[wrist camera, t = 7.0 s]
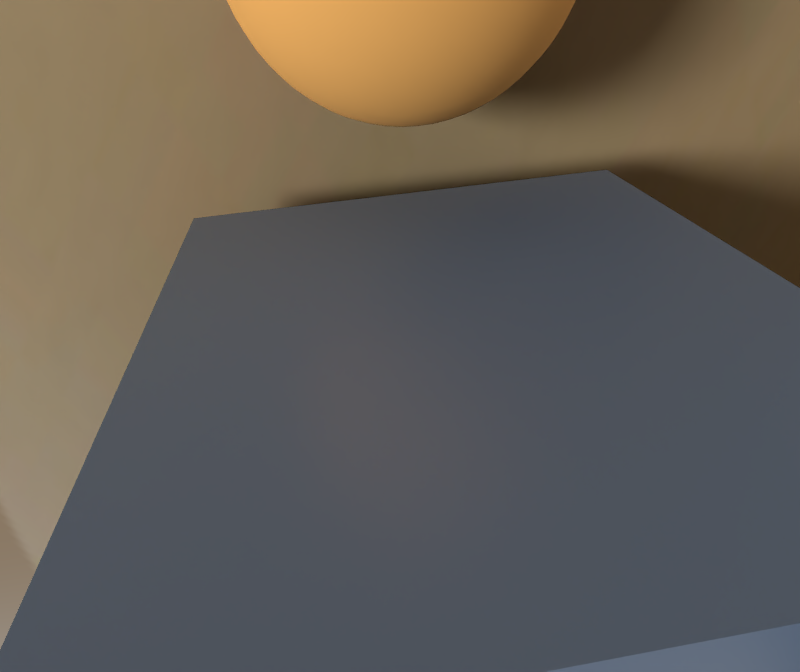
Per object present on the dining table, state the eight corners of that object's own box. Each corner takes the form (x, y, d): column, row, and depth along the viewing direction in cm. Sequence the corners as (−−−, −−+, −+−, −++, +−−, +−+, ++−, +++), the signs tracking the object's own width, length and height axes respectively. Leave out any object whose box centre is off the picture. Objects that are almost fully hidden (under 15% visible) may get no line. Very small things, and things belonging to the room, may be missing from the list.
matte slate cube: (574, 468, 15) (837, 936, 8) (273, 516, 15) (245, 1078, 7) (606, 169, 11) (1216, 542, 4) (193, 218, 11) (-62, 787, 3)
